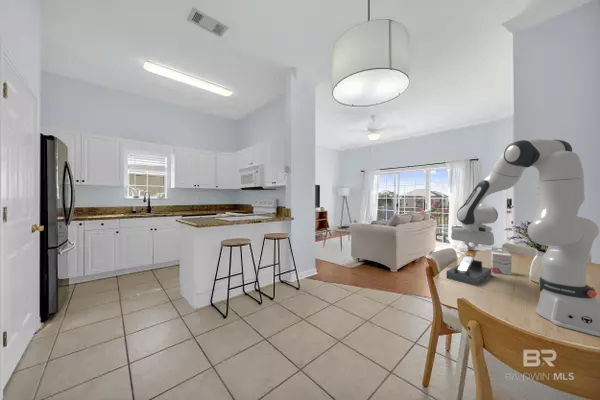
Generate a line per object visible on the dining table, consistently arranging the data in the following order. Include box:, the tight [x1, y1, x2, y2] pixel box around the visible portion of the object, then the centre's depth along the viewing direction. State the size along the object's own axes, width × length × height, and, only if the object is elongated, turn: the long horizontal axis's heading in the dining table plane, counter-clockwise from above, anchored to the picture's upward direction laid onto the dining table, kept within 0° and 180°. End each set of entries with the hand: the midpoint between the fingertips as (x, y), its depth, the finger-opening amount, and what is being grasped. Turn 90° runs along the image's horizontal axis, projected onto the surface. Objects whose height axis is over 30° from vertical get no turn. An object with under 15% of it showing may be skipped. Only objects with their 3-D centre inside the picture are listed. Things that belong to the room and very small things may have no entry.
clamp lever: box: [457, 249, 478, 274], centre depth 126 cm, size 4×19×2 cm, turn 125°
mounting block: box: [446, 259, 492, 287], centre depth 128 cm, size 14×24×8 cm, turn 125°
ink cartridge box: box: [490, 246, 513, 276], centre depth 133 cm, size 9×5×15 cm, turn 58°
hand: (471, 249), depth 131 cm, fingers closed, pressing on clamp lever
